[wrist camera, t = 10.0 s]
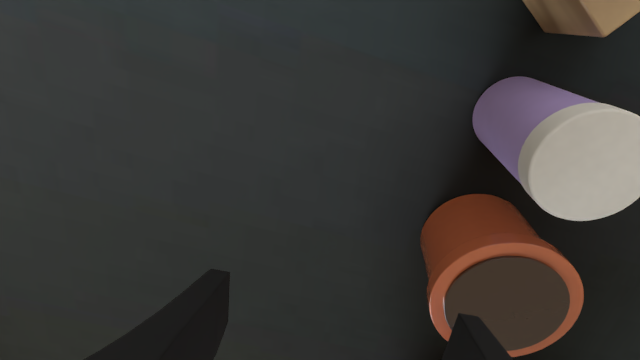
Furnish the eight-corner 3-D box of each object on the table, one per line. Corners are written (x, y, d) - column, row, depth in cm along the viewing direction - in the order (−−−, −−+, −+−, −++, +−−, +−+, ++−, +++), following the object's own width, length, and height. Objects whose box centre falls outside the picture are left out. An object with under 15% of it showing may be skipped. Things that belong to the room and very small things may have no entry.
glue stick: (569, 118, 18) (685, 175, 11) (499, 166, 19) (568, 241, 13) (525, 57, 17) (623, 81, 10) (455, 111, 18) (504, 163, 12)
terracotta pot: (555, 245, 20) (616, 318, 15) (458, 301, 22) (484, 380, 18) (489, 164, 19) (532, 216, 14) (391, 232, 21) (400, 297, 16)
